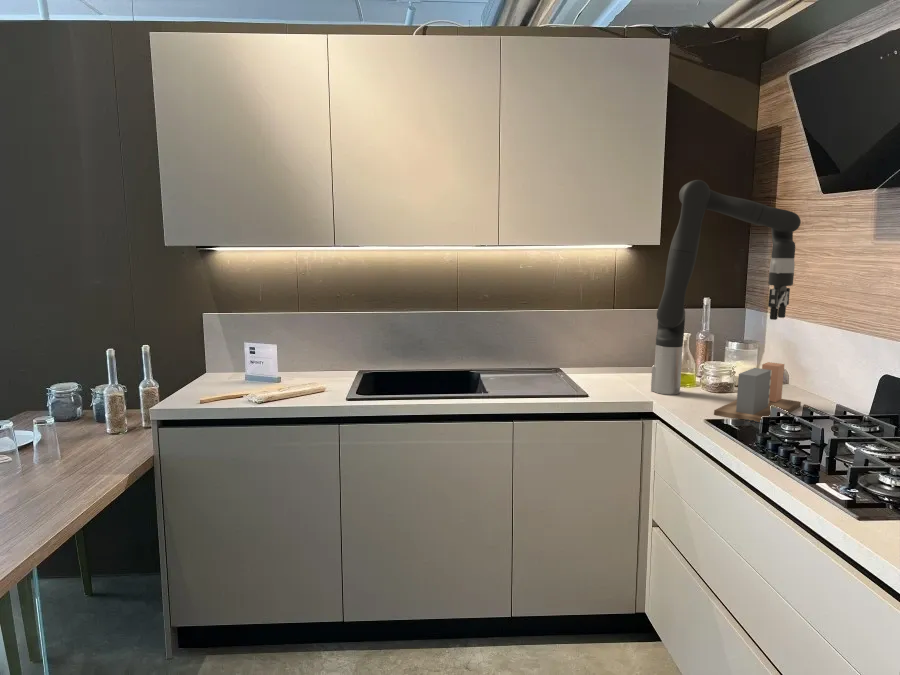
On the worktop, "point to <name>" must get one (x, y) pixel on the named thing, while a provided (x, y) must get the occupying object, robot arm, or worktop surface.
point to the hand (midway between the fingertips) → (777, 318)
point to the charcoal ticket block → (753, 390)
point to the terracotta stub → (775, 380)
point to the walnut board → (731, 412)
